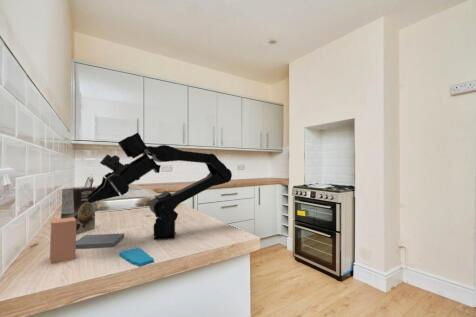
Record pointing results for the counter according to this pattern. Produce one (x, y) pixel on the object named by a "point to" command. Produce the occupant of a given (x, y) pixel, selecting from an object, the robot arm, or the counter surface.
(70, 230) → the terracotta block
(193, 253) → the counter surface
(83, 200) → the coffee box
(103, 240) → the slate board
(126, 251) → the sponge
